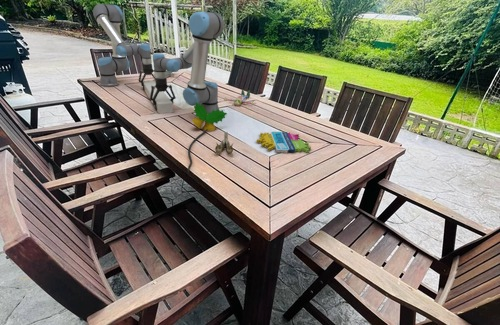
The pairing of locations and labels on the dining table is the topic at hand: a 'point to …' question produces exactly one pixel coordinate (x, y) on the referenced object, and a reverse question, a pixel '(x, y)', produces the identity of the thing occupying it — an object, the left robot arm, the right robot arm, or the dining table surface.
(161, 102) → the slab
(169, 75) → the airplane
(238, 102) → the toy
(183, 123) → the dining table surface
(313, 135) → the dining table surface
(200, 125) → the ornament
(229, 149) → the jawbone
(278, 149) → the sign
